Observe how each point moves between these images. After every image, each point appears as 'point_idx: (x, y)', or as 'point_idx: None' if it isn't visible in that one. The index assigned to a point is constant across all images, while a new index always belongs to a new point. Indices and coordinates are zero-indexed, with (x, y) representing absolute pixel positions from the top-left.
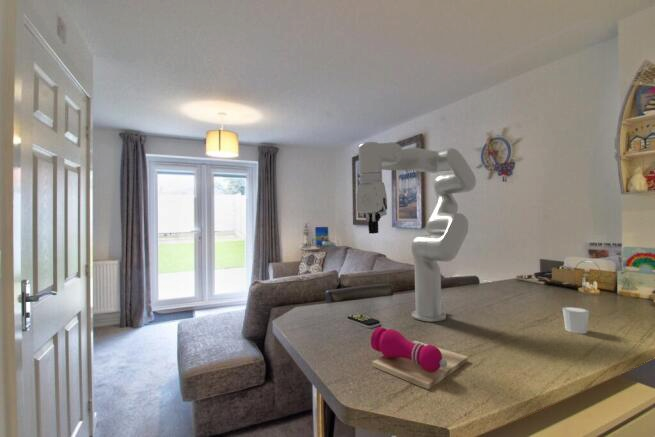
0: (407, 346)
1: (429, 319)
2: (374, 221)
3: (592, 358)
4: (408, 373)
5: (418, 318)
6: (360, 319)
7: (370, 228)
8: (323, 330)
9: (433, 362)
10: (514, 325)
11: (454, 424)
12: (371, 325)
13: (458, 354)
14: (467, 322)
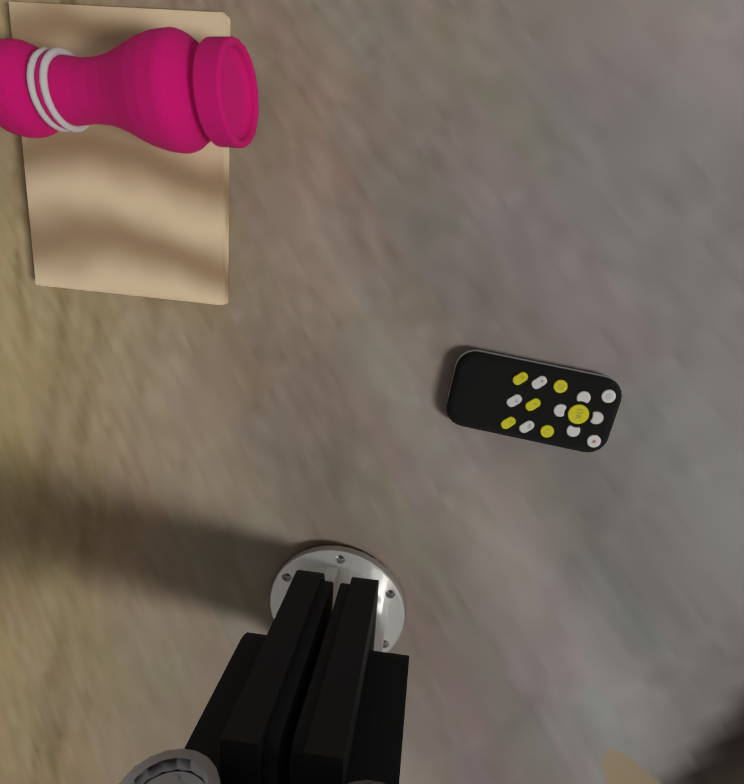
0: (78, 62)
1: (302, 555)
2: (169, 765)
3: None
4: (86, 25)
5: (346, 550)
6: (532, 381)
7: (327, 633)
8: (629, 187)
9: None
10: (87, 656)
11: None
12: (457, 361)
13: (61, 283)
14: (203, 613)
